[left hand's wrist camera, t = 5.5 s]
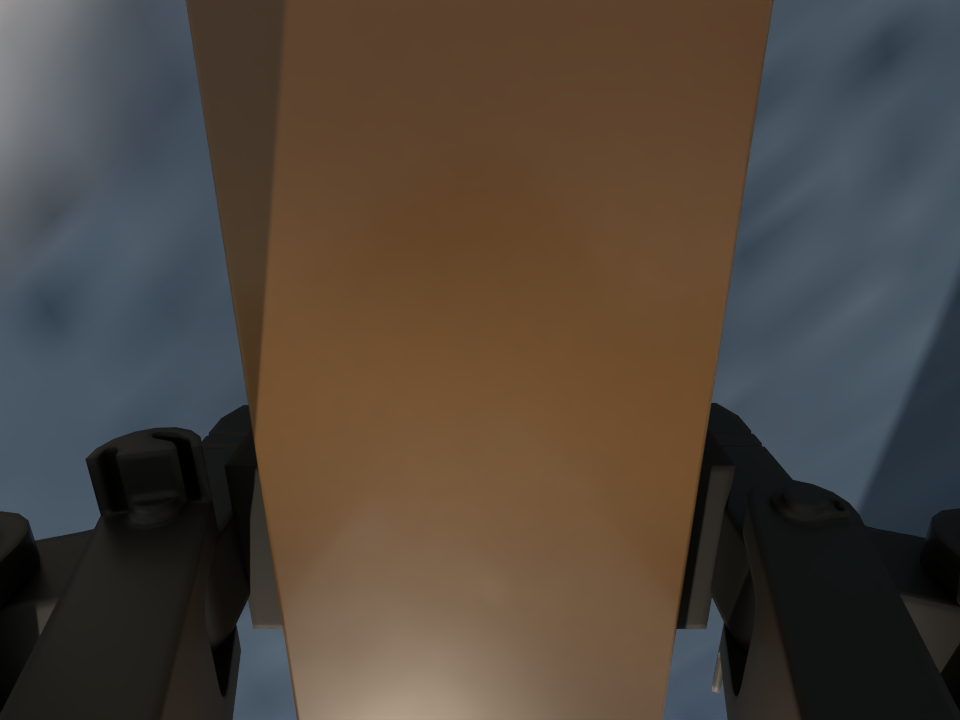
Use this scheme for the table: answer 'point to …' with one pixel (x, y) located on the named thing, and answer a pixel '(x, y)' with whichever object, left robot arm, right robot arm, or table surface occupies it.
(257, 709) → the table surface
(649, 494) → the bar
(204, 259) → the table surface
